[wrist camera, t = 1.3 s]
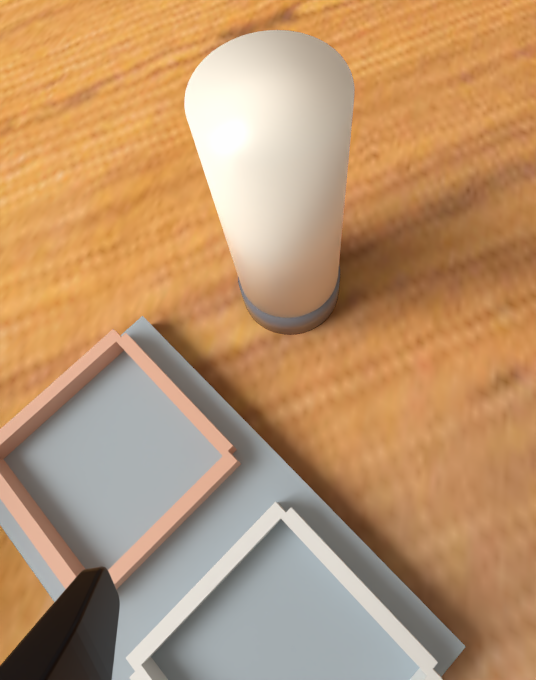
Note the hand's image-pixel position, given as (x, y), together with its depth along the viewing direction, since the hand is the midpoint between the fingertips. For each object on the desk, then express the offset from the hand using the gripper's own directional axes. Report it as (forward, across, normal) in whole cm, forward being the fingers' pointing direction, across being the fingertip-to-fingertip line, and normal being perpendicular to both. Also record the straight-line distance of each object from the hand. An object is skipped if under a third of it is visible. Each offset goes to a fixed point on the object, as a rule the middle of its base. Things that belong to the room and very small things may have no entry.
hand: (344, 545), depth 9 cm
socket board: (+10, +6, +10) cm, 15 cm away
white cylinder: (+18, 0, +1) cm, 18 cm away
